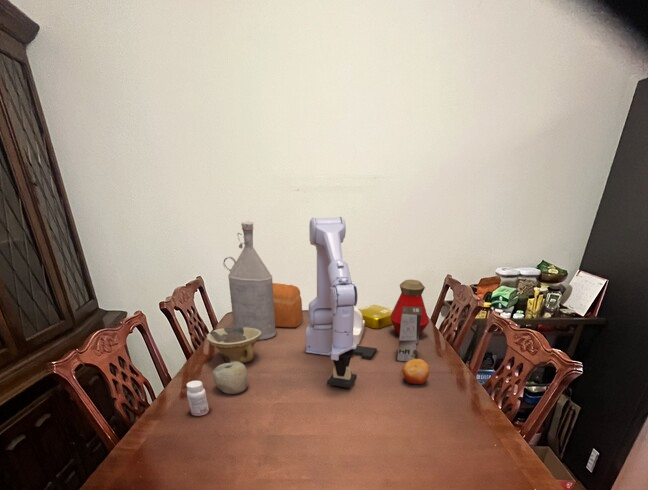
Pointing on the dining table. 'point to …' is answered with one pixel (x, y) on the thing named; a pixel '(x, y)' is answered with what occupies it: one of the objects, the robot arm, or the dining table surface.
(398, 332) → the bottle
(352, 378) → the loose pad
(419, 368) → the fruit
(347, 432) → the dining table surface
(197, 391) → the pill bottle
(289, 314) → the bread
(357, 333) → the white slotted holder
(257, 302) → the grey jug
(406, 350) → the coffee box
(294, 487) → the dining table surface
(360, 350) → the base pad
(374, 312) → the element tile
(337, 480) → the dining table surface
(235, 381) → the stone
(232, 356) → the bowl
